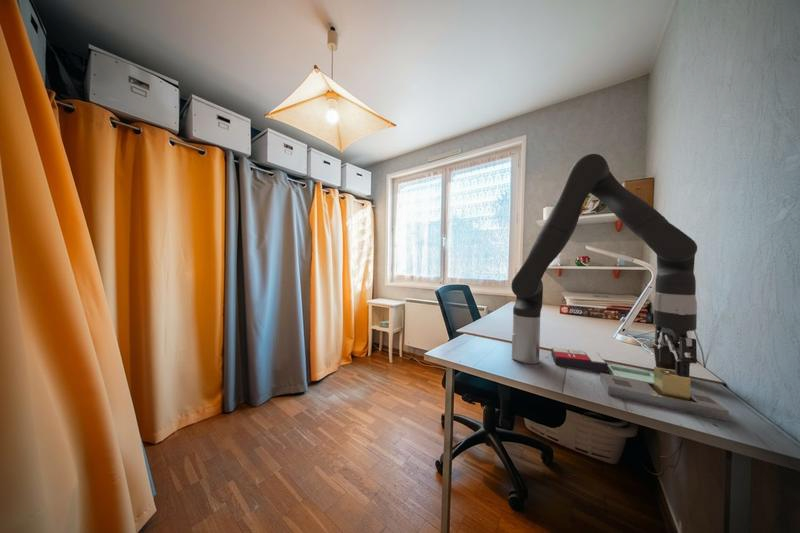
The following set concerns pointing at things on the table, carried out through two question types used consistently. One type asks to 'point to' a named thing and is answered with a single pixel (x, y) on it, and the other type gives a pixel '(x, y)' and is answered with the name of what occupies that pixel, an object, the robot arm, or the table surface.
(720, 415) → the rail
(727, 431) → the table surface
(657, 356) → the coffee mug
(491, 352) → the table surface
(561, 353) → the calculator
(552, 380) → the table surface
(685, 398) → the tan holed block
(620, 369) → the tray
